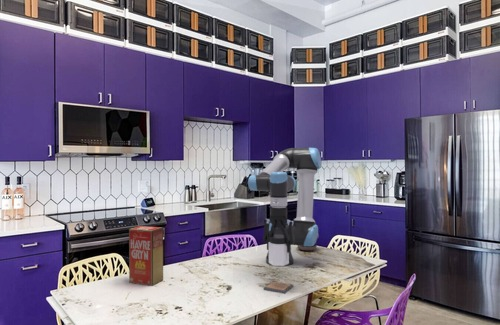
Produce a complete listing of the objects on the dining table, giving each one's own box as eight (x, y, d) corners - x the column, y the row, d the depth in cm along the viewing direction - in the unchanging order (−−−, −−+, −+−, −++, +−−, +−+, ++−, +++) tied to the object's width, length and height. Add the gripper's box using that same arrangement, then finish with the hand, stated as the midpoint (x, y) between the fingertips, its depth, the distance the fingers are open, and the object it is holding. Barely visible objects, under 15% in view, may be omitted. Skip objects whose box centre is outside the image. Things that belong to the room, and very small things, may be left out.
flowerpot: (295, 252, 221) (295, 220, 221) (296, 246, 237) (296, 216, 237) (318, 253, 219) (319, 220, 219) (318, 247, 234) (318, 217, 234)
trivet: (263, 289, 156) (263, 287, 156) (272, 282, 164) (272, 280, 164) (284, 293, 151) (284, 291, 151) (293, 286, 160) (293, 284, 160)
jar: (291, 265, 155) (291, 237, 155) (275, 267, 152) (275, 239, 152) (282, 259, 163) (282, 233, 163) (266, 261, 160) (266, 235, 160)
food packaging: (127, 282, 164) (128, 228, 164) (140, 276, 173) (140, 225, 173) (152, 286, 160) (152, 230, 160) (164, 279, 169) (164, 226, 169)
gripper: (254, 206, 159) (254, 257, 159) (297, 209, 150) (297, 263, 150) (262, 204, 166) (262, 254, 166) (303, 207, 156) (303, 259, 156)
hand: (278, 258), depth 158 cm, fingers closed on jar, 7 cm apart
